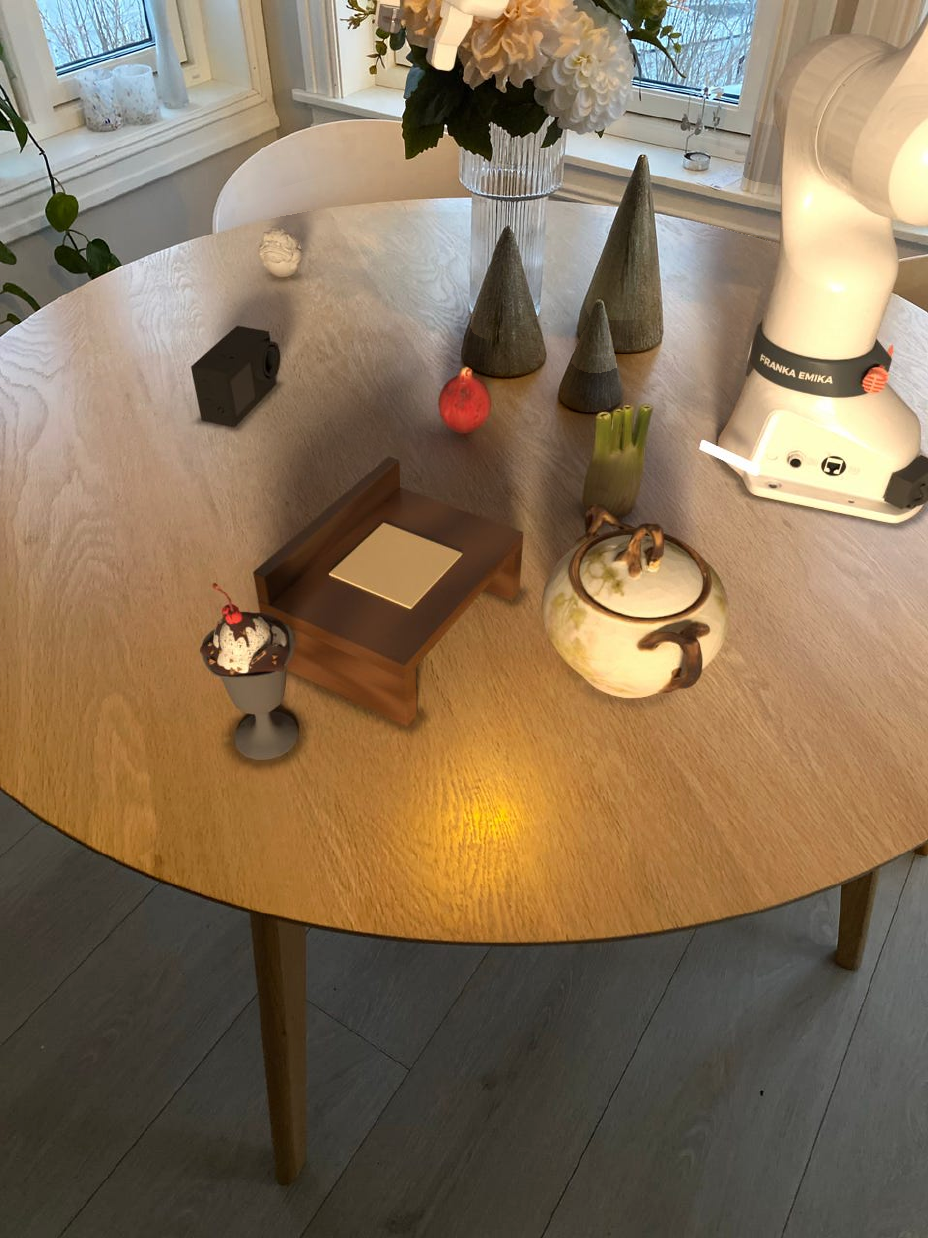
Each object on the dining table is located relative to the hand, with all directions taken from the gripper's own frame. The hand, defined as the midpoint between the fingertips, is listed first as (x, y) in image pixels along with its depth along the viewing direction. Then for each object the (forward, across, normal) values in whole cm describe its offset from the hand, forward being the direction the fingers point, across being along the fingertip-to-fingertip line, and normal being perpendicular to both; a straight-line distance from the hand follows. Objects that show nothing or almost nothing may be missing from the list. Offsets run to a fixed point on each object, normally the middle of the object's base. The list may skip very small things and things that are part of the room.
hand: (412, 47), depth 78 cm
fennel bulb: (+34, -21, -20) cm, 45 cm away
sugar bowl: (+35, -39, -8) cm, 53 cm away
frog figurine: (+42, +47, -12) cm, 64 cm away
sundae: (+42, -33, +21) cm, 57 cm away
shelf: (+39, -26, +6) cm, 47 cm away
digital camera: (+42, +16, +5) cm, 46 cm away
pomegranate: (+37, -1, -14) cm, 40 cm away
